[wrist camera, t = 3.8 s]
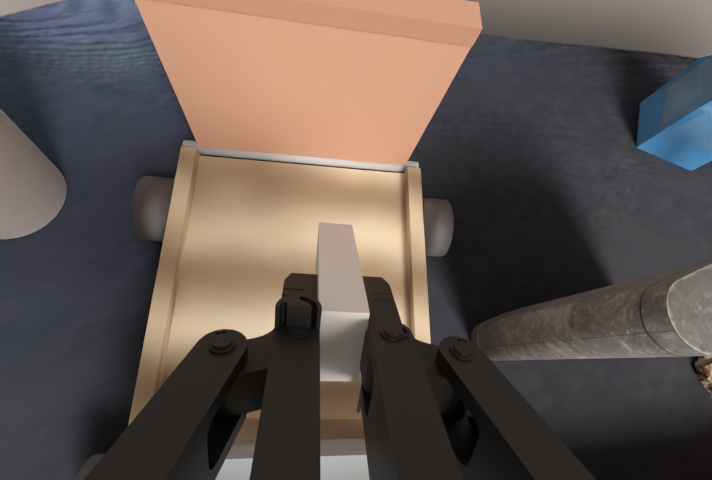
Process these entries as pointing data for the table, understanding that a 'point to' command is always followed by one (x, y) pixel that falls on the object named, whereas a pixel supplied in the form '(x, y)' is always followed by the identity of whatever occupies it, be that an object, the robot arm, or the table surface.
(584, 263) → the table surface
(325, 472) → the truck bed
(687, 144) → the perfume bottle
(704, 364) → the mineral rock
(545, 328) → the flask
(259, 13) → the tailgate
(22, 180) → the coffee cup
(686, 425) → the table surface
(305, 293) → the robot arm
